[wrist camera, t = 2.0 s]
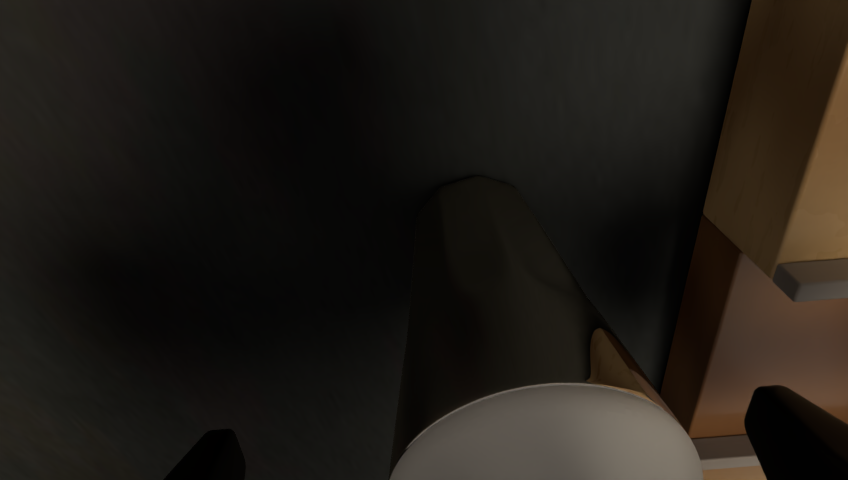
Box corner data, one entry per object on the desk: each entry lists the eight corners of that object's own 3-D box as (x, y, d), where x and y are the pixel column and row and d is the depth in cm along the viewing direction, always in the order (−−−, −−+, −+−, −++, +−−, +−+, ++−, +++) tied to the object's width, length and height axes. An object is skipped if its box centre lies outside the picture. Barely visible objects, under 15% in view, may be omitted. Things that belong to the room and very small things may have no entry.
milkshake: (337, 190, 14) (240, 633, 5) (539, 127, 13) (805, 517, 5) (394, 319, 16) (391, 774, 8) (569, 271, 15) (782, 709, 7)
